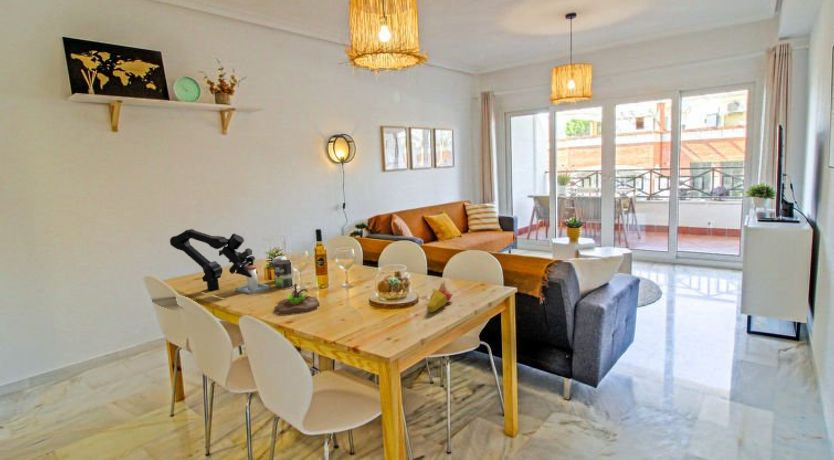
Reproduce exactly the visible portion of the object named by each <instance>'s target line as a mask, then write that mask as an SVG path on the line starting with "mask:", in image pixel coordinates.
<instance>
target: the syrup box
mask: <svg viewBox="0 0 834 460" xmlns="http://www.w3.org/2000/svg"><path fill="white" fill-rule="evenodd" d="M280 260H288V259H287V256H284V255H279V256H276V257H274V258H272V264H273V263H274V262H276V261H280ZM272 266H273V265H272ZM273 268H274V266H273Z"/></svg>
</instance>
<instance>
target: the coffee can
mask: <svg viewBox="0 0 834 460" xmlns="http://www.w3.org/2000/svg"><path fill="white" fill-rule="evenodd" d="M290 260H291V259H287V260H280V261H276V262H274V263H273V262H272V266H274V267H273V273H274V275H273V276H274V286H275V288H276V289H283V290H284V291H285V290H290V289H293V288H294V284H295V276H294V268H293V269H292V267H291V262H290Z"/></svg>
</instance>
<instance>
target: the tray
mask: <svg viewBox="0 0 834 460" xmlns="http://www.w3.org/2000/svg"><path fill="white" fill-rule="evenodd" d="M270 289H272V286H271V285H269V284H265V283H259V282H258V289H256V290H251V291H250V290H248V285H247V284H245V285H241V286H237V287H235V291H237V292H239V293H245V294H249V295H253V294H256V293H260V292H264V291H267V290H270Z"/></svg>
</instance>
